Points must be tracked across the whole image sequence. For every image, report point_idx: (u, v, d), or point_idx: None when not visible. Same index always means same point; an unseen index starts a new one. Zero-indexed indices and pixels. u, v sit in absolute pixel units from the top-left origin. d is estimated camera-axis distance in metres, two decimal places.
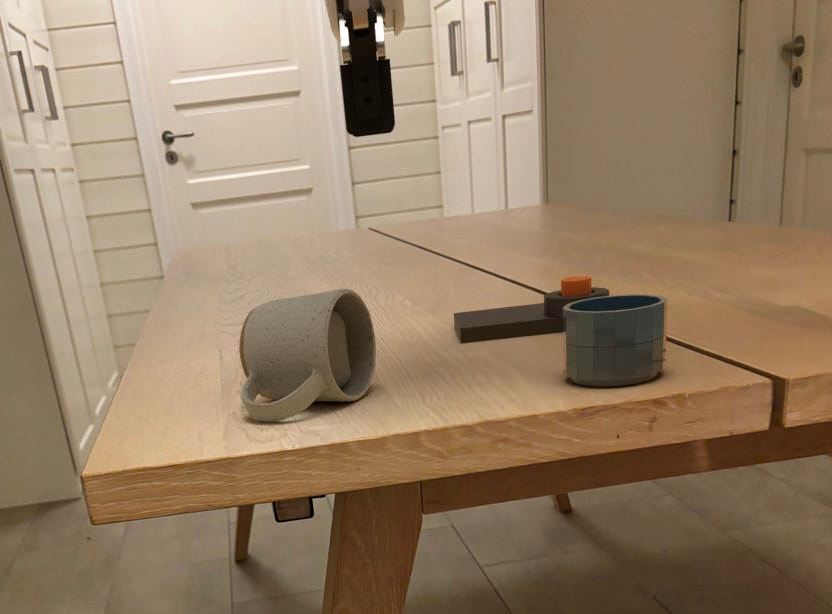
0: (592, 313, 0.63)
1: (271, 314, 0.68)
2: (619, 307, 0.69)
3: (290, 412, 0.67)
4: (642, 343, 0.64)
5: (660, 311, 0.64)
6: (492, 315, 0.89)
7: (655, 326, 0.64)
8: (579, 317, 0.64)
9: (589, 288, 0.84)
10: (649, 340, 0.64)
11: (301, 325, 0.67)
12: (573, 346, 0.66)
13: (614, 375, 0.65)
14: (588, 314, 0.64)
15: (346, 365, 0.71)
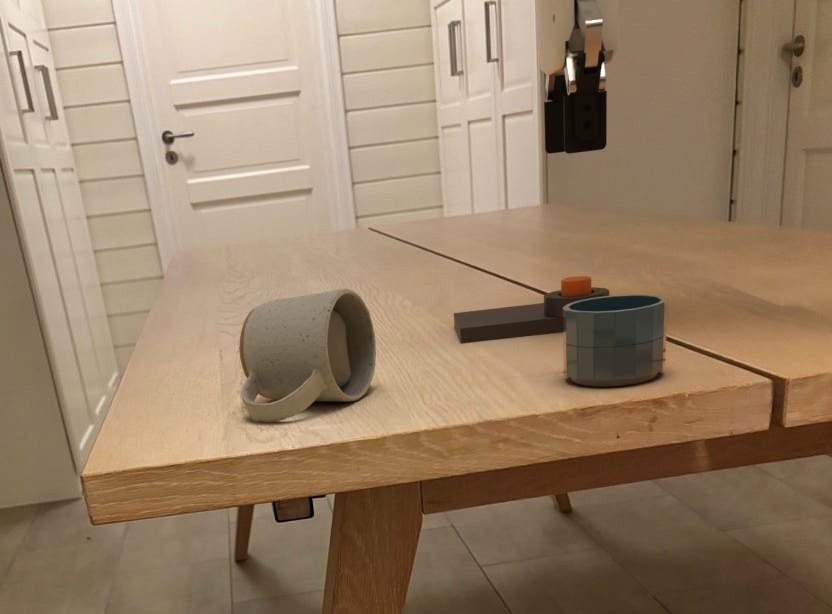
0: (592, 313, 0.63)
1: (271, 314, 0.68)
2: (619, 307, 0.69)
3: (290, 412, 0.67)
4: (642, 343, 0.64)
5: (660, 311, 0.64)
6: (492, 315, 0.89)
7: (655, 326, 0.64)
8: (579, 317, 0.64)
9: (589, 288, 0.84)
10: (649, 340, 0.64)
11: (301, 325, 0.67)
12: (573, 346, 0.66)
13: (614, 375, 0.65)
14: (588, 314, 0.64)
15: (346, 365, 0.71)
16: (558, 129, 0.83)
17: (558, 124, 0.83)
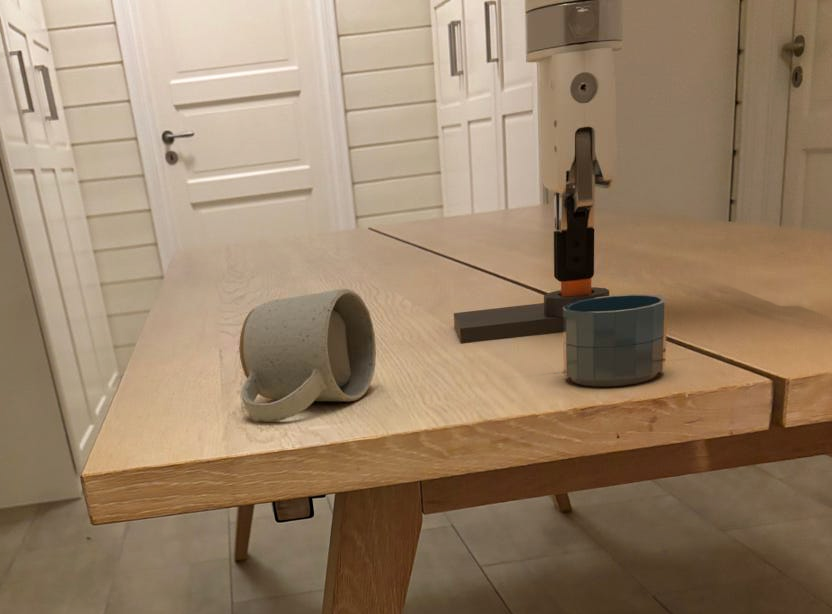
0: (592, 313, 0.63)
1: (271, 314, 0.68)
2: (619, 307, 0.69)
3: (290, 412, 0.67)
4: (642, 343, 0.64)
5: (660, 311, 0.64)
6: (492, 315, 0.89)
7: (655, 326, 0.64)
8: (579, 317, 0.64)
9: (589, 288, 0.84)
10: (649, 340, 0.64)
11: (301, 325, 0.67)
12: (573, 346, 0.66)
13: (614, 375, 0.65)
14: (588, 314, 0.64)
15: (346, 365, 0.71)
16: None
17: None
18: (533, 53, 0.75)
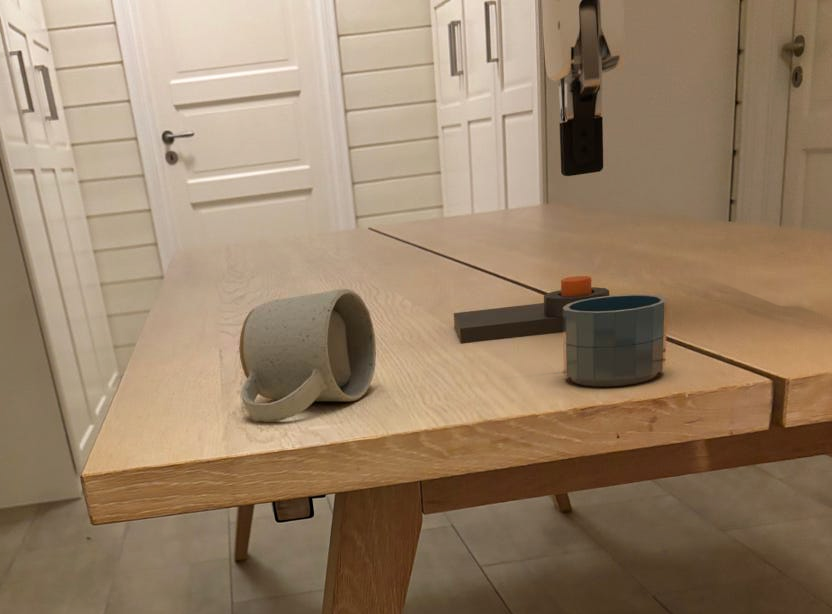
0: (592, 313, 0.63)
1: (271, 314, 0.68)
2: (619, 307, 0.69)
3: (290, 412, 0.67)
4: (642, 343, 0.64)
5: (660, 311, 0.64)
6: (492, 315, 0.89)
7: (655, 326, 0.64)
8: (579, 317, 0.64)
9: (589, 288, 0.84)
10: (649, 340, 0.64)
11: (301, 325, 0.67)
12: (573, 346, 0.66)
13: (614, 375, 0.65)
14: (588, 314, 0.64)
15: (346, 365, 0.71)
16: None
17: None
18: None
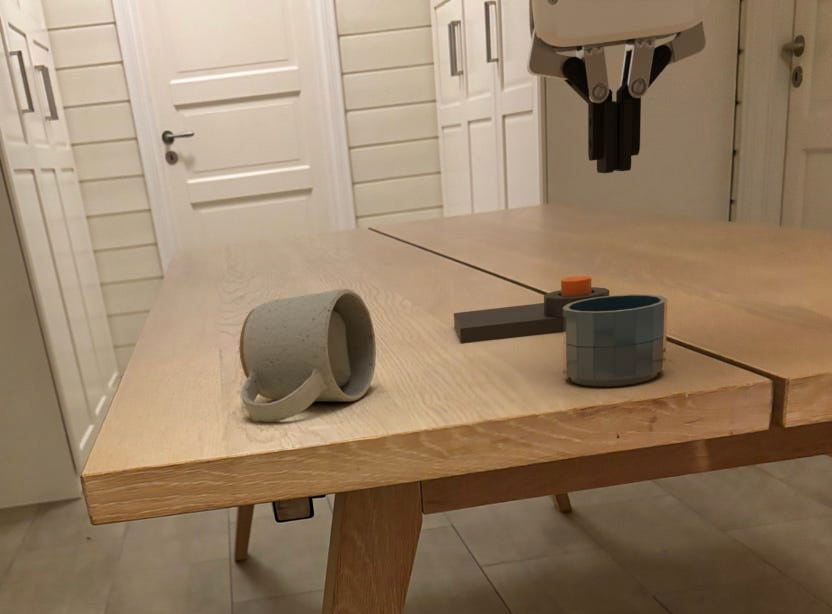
0: (592, 313, 0.63)
1: (271, 314, 0.68)
2: (619, 307, 0.69)
3: (290, 412, 0.67)
4: (642, 343, 0.64)
5: (660, 311, 0.64)
6: (492, 315, 0.89)
7: (655, 326, 0.64)
8: (579, 317, 0.64)
9: (589, 288, 0.84)
10: (649, 340, 0.64)
11: (301, 325, 0.67)
12: (573, 346, 0.66)
13: (614, 375, 0.65)
14: (588, 314, 0.64)
15: (346, 365, 0.71)
16: None
17: None
18: None
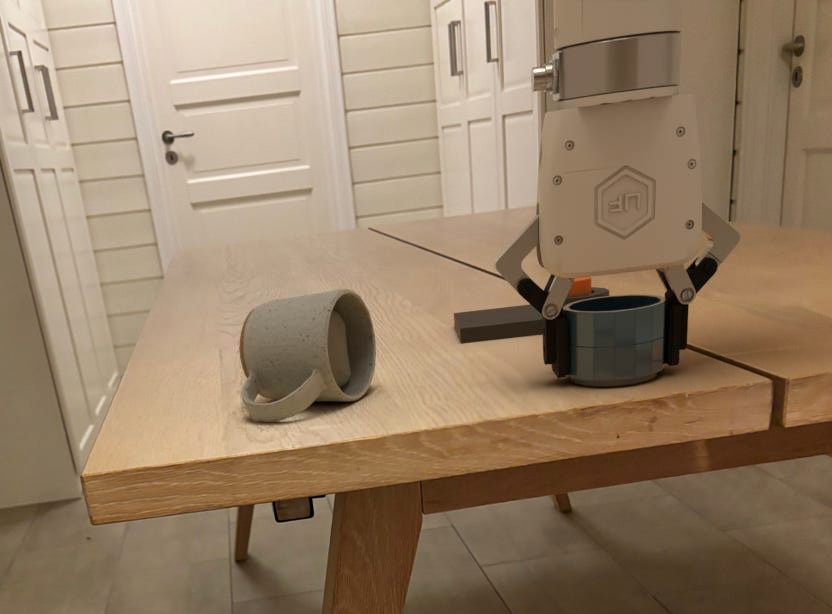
0: (592, 313, 0.63)
1: (271, 314, 0.68)
2: (619, 307, 0.69)
3: (290, 412, 0.67)
4: (642, 343, 0.64)
5: (660, 311, 0.64)
6: (492, 315, 0.89)
7: (655, 327, 0.64)
8: (579, 317, 0.64)
9: (589, 288, 0.84)
10: (649, 340, 0.64)
11: (301, 325, 0.67)
12: (573, 346, 0.66)
13: (614, 375, 0.65)
14: (588, 314, 0.64)
15: (346, 365, 0.71)
16: None
17: None
18: None
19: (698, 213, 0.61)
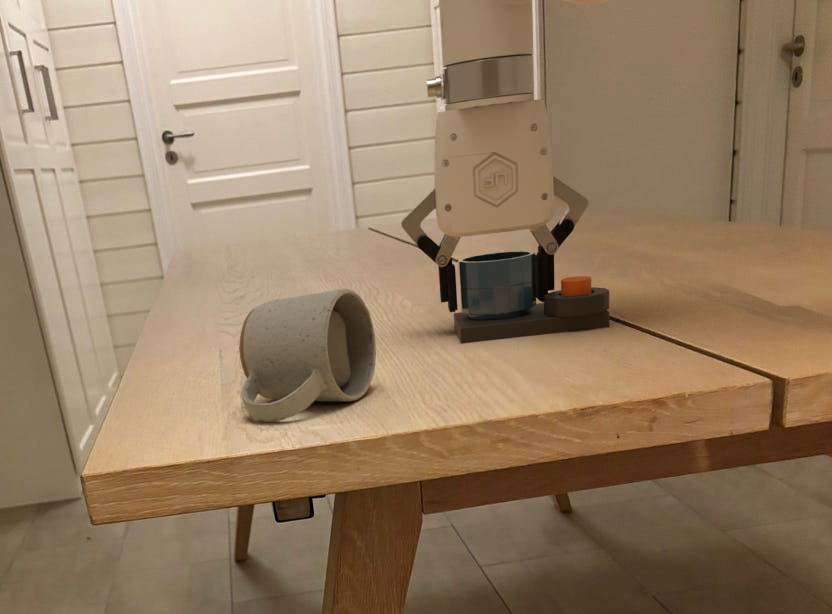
0: (476, 263, 0.85)
1: (271, 314, 0.68)
2: None
3: (290, 412, 0.67)
4: (514, 285, 0.85)
5: (528, 261, 0.85)
6: None
7: (524, 273, 0.85)
8: (468, 266, 0.86)
9: (589, 288, 0.84)
10: (520, 283, 0.85)
11: (301, 325, 0.67)
12: (465, 289, 0.87)
13: (494, 310, 0.86)
14: (473, 263, 0.85)
15: (346, 365, 0.71)
16: (536, 279, 0.88)
17: (536, 275, 0.88)
18: None
19: (550, 188, 0.82)
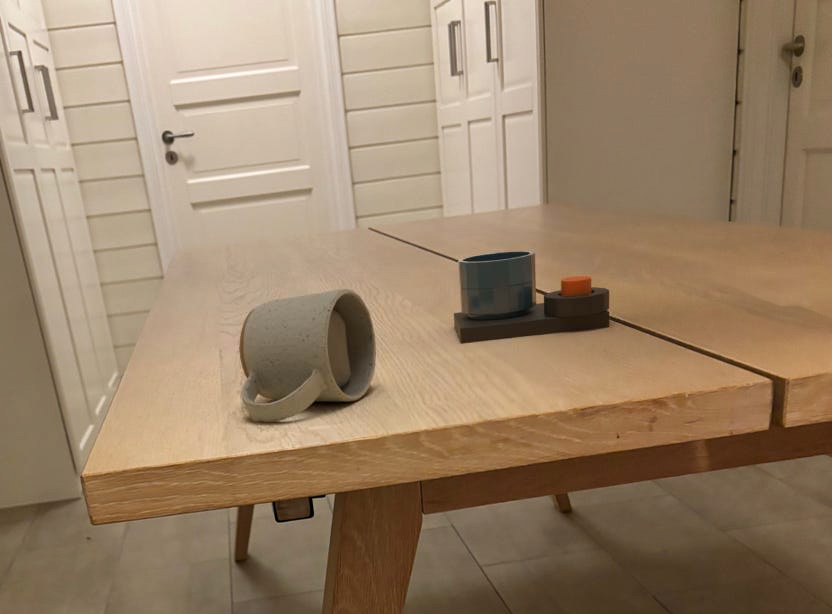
0: (476, 263, 0.85)
1: (271, 314, 0.68)
2: None
3: (290, 412, 0.67)
4: (514, 285, 0.85)
5: (528, 261, 0.85)
6: None
7: (524, 273, 0.85)
8: (468, 266, 0.86)
9: (589, 288, 0.84)
10: (520, 283, 0.85)
11: (301, 325, 0.67)
12: (465, 289, 0.87)
13: (494, 310, 0.86)
14: (473, 263, 0.85)
15: (346, 365, 0.71)
16: None
17: None
18: None
19: None
